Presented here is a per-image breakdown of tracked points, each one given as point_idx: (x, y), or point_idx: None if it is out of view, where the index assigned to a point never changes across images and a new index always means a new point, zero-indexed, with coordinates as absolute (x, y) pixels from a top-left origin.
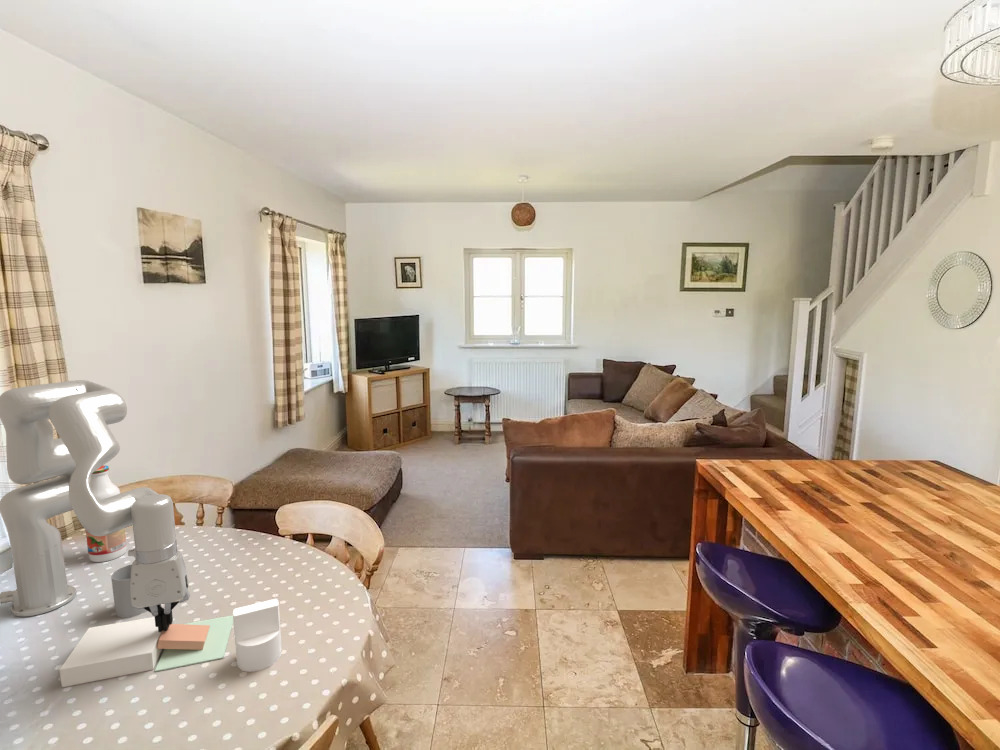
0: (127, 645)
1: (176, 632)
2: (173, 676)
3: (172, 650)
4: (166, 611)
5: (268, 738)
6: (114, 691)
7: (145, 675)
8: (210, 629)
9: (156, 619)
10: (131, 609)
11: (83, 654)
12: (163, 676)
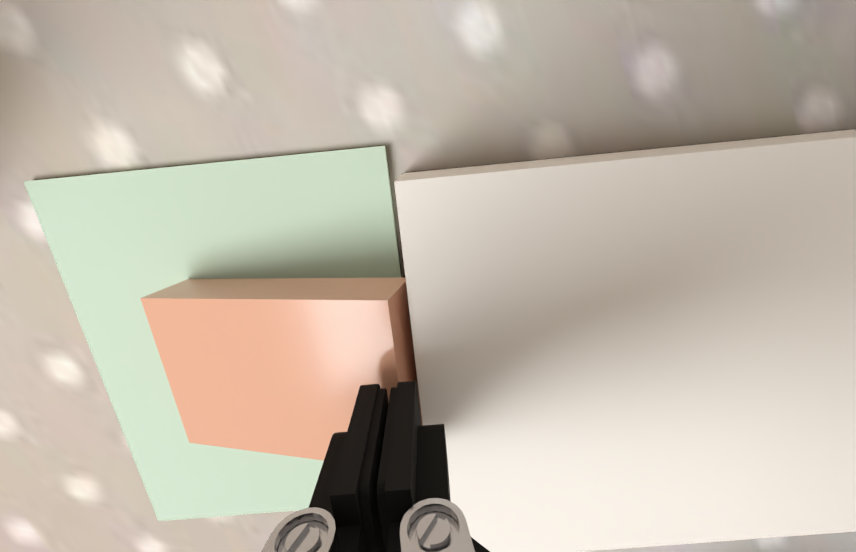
0: (599, 307)
1: (318, 384)
2: (257, 75)
3: None
4: (308, 538)
5: None
6: (555, 12)
7: (427, 128)
8: None
9: (433, 473)
10: None
11: None
12: (318, 91)
